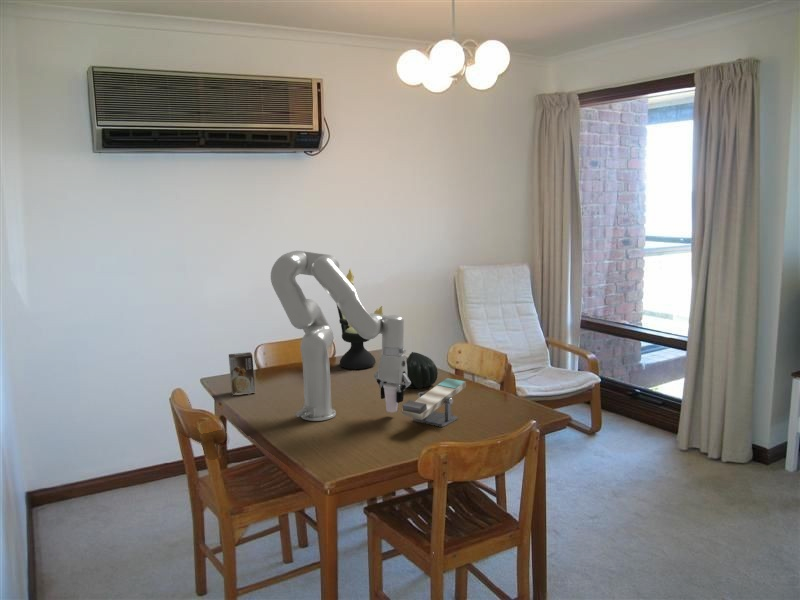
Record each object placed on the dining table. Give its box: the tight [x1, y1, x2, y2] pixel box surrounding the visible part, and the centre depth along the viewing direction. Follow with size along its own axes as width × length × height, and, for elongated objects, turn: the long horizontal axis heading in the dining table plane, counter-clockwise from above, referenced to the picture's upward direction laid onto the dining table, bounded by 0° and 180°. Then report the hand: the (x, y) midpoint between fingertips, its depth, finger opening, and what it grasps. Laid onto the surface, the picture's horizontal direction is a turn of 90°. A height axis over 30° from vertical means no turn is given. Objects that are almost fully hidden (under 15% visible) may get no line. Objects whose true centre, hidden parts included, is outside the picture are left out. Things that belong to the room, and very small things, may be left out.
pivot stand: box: [412, 391, 458, 428], centre depth 232 cm, size 10×14×9 cm
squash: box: [403, 351, 438, 390], centre depth 273 cm, size 14×15×15 cm
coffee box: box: [228, 351, 256, 395], centre depth 268 cm, size 9×6×16 cm
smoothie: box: [383, 382, 401, 413], centre depth 236 cm, size 6×6×14 cm
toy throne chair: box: [336, 268, 384, 370], centre depth 306 cm, size 19×22×45 cm
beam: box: [401, 377, 467, 420], centre depth 231 cm, size 29×8×4 cm, turn 144°
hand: (391, 399), depth 236 cm, fingers closed on smoothie, 6 cm apart
